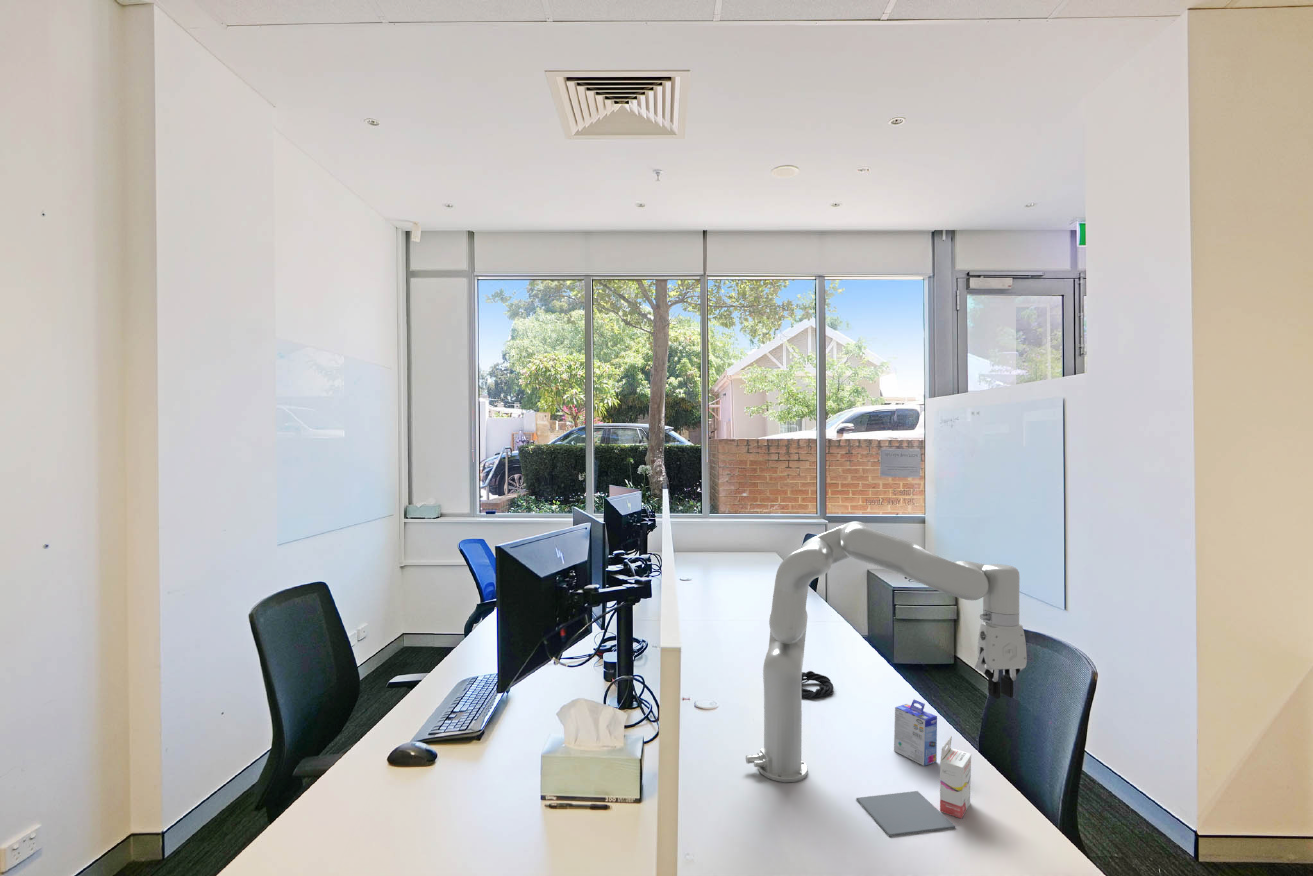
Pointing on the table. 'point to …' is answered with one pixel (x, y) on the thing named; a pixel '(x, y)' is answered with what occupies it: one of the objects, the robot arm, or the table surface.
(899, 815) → the rubber mat
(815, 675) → the cable
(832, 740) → the table surface
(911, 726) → the ink cartridge box
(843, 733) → the table surface
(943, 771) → the ink cartridge box
